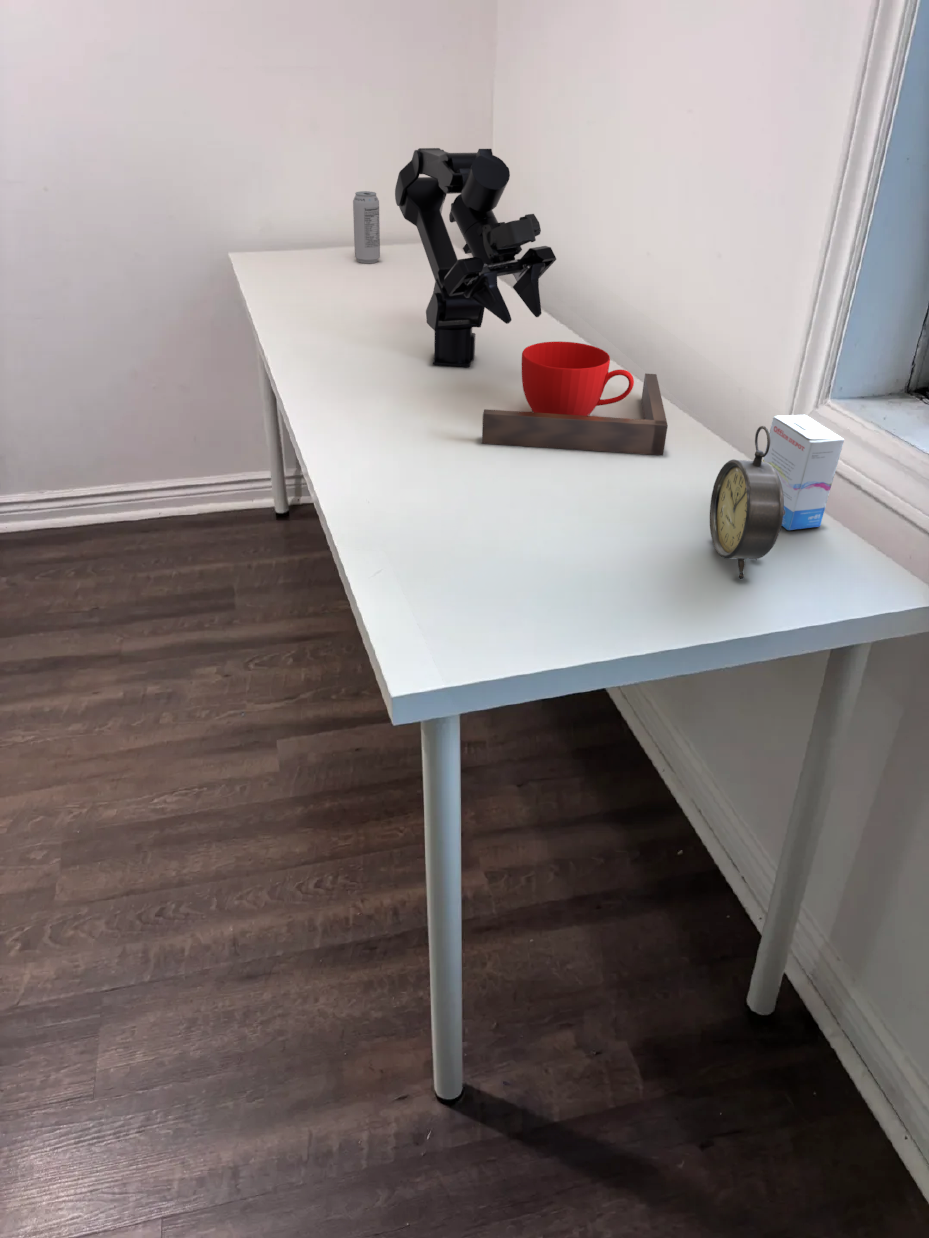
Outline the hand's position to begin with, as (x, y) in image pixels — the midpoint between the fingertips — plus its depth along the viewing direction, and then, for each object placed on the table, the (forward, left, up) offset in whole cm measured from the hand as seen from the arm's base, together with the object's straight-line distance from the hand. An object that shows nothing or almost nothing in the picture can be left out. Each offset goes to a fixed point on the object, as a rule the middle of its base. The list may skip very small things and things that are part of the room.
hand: (524, 319), depth 145 cm
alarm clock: (+27, -48, -13) cm, 57 cm away
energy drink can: (-41, +87, -13) cm, 96 cm away
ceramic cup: (+8, -8, -13) cm, 18 cm away
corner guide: (+8, -8, -13) cm, 17 cm away
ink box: (+35, -35, -13) cm, 52 cm away
